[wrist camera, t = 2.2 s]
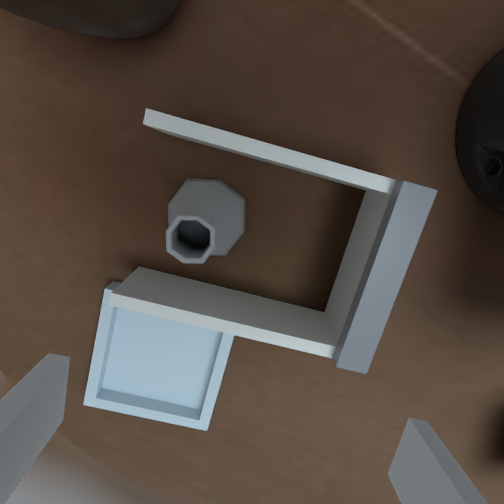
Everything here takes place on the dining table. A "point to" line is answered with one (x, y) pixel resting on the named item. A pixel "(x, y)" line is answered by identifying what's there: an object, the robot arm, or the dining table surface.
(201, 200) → the flask
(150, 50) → the dining table surface
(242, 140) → the bay
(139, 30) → the plant pot
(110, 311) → the tray
